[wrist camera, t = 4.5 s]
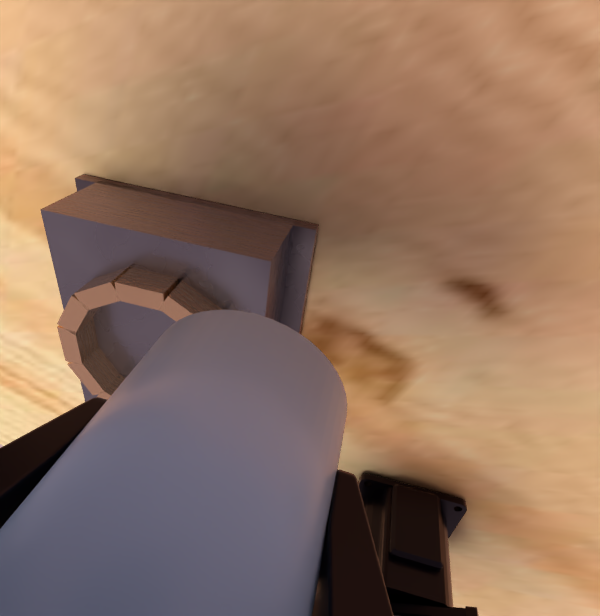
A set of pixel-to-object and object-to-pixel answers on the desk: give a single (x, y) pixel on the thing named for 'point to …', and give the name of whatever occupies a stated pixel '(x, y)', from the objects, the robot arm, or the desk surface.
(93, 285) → the grey square ring base
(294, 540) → the light blue tapered cylinder
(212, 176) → the desk surface
